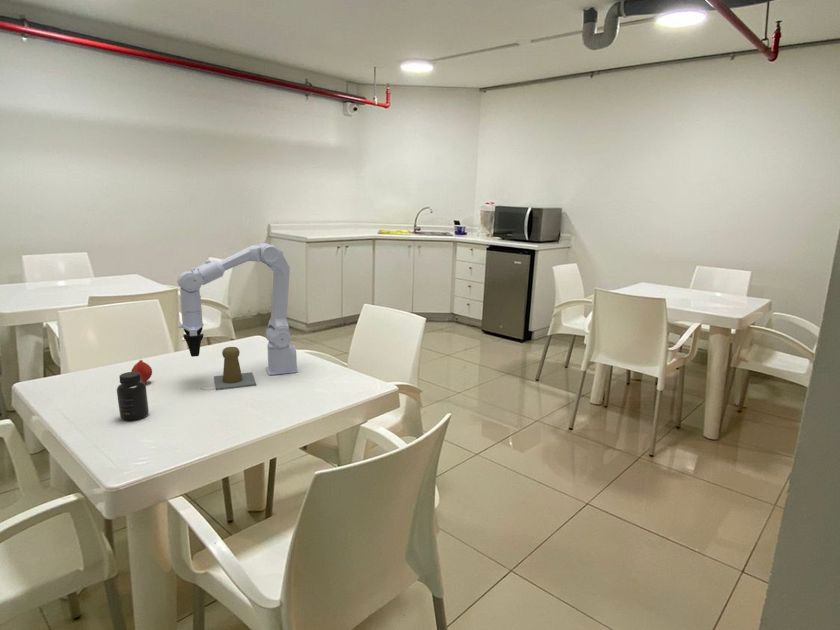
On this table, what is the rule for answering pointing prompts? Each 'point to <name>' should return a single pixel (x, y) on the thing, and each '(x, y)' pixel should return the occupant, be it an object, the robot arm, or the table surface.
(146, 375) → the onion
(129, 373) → the supplement bottle
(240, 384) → the placemat
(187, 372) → the table surface
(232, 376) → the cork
